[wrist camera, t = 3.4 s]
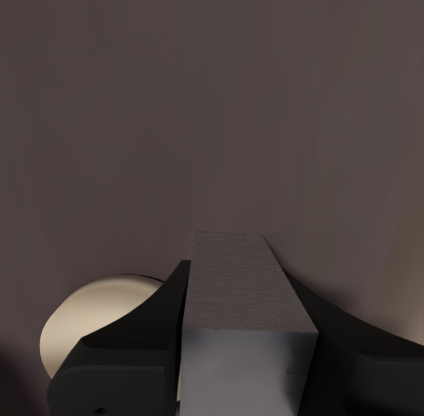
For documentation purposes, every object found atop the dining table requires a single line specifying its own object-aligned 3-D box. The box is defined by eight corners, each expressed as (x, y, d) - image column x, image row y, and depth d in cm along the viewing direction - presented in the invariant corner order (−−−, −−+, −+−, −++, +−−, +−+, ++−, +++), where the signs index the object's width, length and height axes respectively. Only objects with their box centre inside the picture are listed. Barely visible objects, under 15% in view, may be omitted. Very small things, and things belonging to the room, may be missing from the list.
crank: (27, 298, 14) (-76, 387, 9) (177, 256, 13) (158, 327, 8) (96, 401, 17) (48, 513, 12) (222, 371, 16) (228, 476, 11)
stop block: (192, 287, 14) (179, 420, 7) (195, 231, 13) (182, 328, 6) (253, 290, 14) (294, 422, 8) (261, 234, 13) (318, 332, 6)
